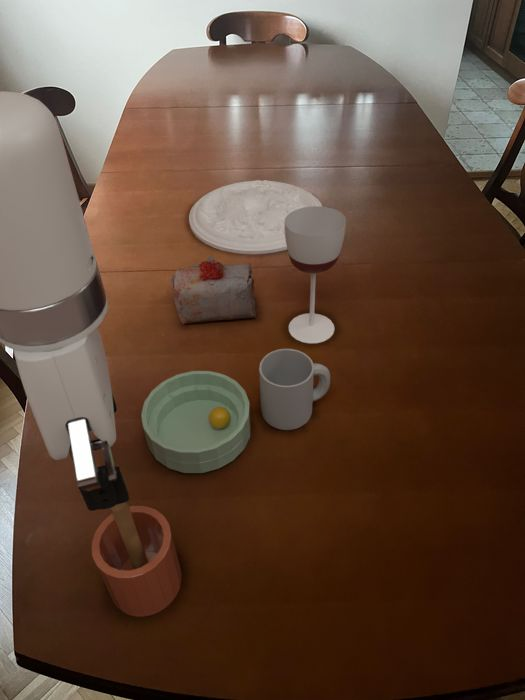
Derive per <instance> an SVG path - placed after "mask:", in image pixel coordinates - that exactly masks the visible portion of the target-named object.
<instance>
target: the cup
mask: <svg viewBox="0 0 525 700" xmlns="http://www.w3.org/2000/svg"><path fill="white" fill-rule="evenodd" d="M258 371H259V373H258V375H259V393H260V395H259V396H260V411H261V415H262V418H263V420H264V421H265V422H266V423H267V424H268V425H269V426H271V427H273V428H274V429H276V430H277V429H278V430H281V431H292V430H297V429H299V428H301V427H303V426H304V425H305V424H307V423H308V422H309V420H310V419H311V417H312V415H313V402H317V401H318V400H320V399H322V398H323V397H324V396H325V395H326V394H327V393H328V391H329V389H330V386H331V373H330V370H329V368H328V366H325V365H324V364H321V363H314V362H313V360H312V358H311V357H310V356H309V355H307V354H306V353H305V352H303V351H301V350H299V349H293V348H280V349H279V348H278V349H276V350H273V351H271V352H269V353H267V354H266V355H265V356H263V358H262V359H261V361H260V363H259V368H258ZM314 376H315V377H316V376H317V377H318V383H317V385H316V386H315V388H314V379H315V377H314Z"/></svg>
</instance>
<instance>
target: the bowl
mask: <svg viewBox="0 0 525 700" xmlns="http://www.w3.org/2000/svg"><path fill="white" fill-rule="evenodd" d="M216 407H223V408H225V409H227V410H228V412H229V413H230V422H229V424H228V425H227V426H226V427H225V428H222V429H216V428H214V427H213V426H211V424H210V423H209V419H208V417H209V413H210V412H211V410H212V409H214V408H216ZM140 416H141V425H142V429H143V432H144V436H145V439H146V443H147V448H148V450H149V451H150V453H151V454H152V456H153V457H154V459H155V460H156V461H157V462H159V463H160V464H161V465H163V466H164V467H166V468H167V469H168V470H169V469H170V470H173V471H177V472H179V473H182V474H203V473H208V472H211V471H215V470H219V469H220V468H222V467H225V466H226V465H228V464H230V463H231V462H233V461H234V460H235V459H236V458H237V457H238V456H240V455H241V453H242V452H244V450H245V448H246V447H247V445H248V443H249V440H250V439H251V432H252V431H251V430H252V421H251V420H252V418H251V403H250V400H249V398H248V395H247V391H246V390H245V389H244V388H243V387H242V386H241V385H240V384H239V383H238V381H237V380H235V379H234V378H232V377H230V376H227V375H226V374H224V373H221V372H217V371H211V370H191V371H187V372H182V373H177V374H176V375H174V376H172V377H169V378H167V379H165V380H164V381H162V382H160V383H159V384H158V385H156V387H155V388H153V389H151V391H150V393H149V394H148V396H147V397H146V398H145V400H144V402H143V405H142V410H141V414H140Z"/></svg>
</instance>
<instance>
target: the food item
mask: <svg viewBox="0 0 525 700" xmlns="http://www.w3.org/2000/svg"><path fill="white" fill-rule="evenodd" d="M170 284H171V290H172V292H173V299H174V303H175V309H176V312H177V316H178V318H179V320H180V322H181V324H182V325H190V324H197V323H205V322H215V321H232V320H240V319H254V318H255V319H256V318H257V314H258V313H257V305H256V303H257V301H256V298H255V286H254V285H255V279H254V277H253V270H252V264H251V263H250V262H249V263H231V264H222V263H221V262H220V261H216V260H215V259H214V257H213V256H212V255H210V256H209V257H207V259H206V260H204V261H201V262H200V264H194V265H191V266H189V267H183V268H178V269H177V270H176V271H175V273H173V274H172V275H171V278H170Z"/></svg>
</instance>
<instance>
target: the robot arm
mask: <svg viewBox="0 0 525 700" xmlns="http://www.w3.org/2000/svg"><path fill="white" fill-rule="evenodd" d="M108 310H109V301H108V297H107V294H106V290H105V286H104V283H103V280H102V275H101V272H100V269H99V265H98V261H97V259H96V255H95V252H94V248H93V245H92V241H91V237H90V233H89V230H88V227H87V222H86V219H85V216H84V212H83V209H82V205H81V202H80V198H79V194H78V191H77V187H76V183H75V181H74V177H73V172H72V170H71V166H70V162H69V158H68V155H67V151H66V148H65V145H64V139H63V137H62V134H61V131H60V128H59V125H58V122H57V119H56V118H55V117H54V114H53V113H52V111H50V109H49V108H48V107H47V106H46V105H45V104H44V103H43V102H42V101H41V100H40V99H37V98H35V97H34V96H31V95H28V94H26V93H22V92H16V91H6V90H5V91H2V90H0V343H1V344H2V345H4V346H5V347H7V348H9V349H11V350H12V351H13V354H14V358H15V363H16V367H17V371H18V374H19V377H20V380H21V384H22V388H23V390H24V393H25V396H26V398H27V401H28V404H29V407H30V409H31V412H32V414H33V417H34V420H35V422H36V425H37V428H38V430H39V432H40V435H41V437H42V441H43V442H44V445H45V448H46V450H47V453H48V455H49V456H50V457H51V458H52V459H53V460H55V461H61V460H65V459H68V457H69V456H70V460H71V464H72V468H73V469H72V470H73V473H74V477H75V480H76V481H75V483H76V486H77V488H78V490H79V492H80V494H81V496H82V498H83V501H84V503H85V505H86V508H87V510H88V511H91V512H94V511H98V510H107V509H111V507H114V506H115V505H117V504H121V503H125V502H127V503H128V501H130V496H129V495H130V494H129V490H128V488H127V485H126V482H125V479H124V476H123V474H122V471H121V468H120V466H115V462H114V458H113V453H112V449H111V448H112V447H113V446H114V444H115V442H116V441H117V429H116V419H115V413H116V412H117V410H118V409H117V404H116V400H115V397H114V394H113V391H112V383H111V376H110V371H109V365H108V361H107V356H106V352H105V348H104V347H105V346H104V343H103V340H102V337H101V333H100V329H99V327H100V325H101V324H102V323H103V322H104V320H105V318H106V317H107V316H106V315H107V314H108ZM91 433H93V435H94V436H95V437H96V439H92V434H91ZM98 450H101V453H102V457H103V461H104V464H103V465H100V466H97V462H96V457H95V451H98Z"/></svg>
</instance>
